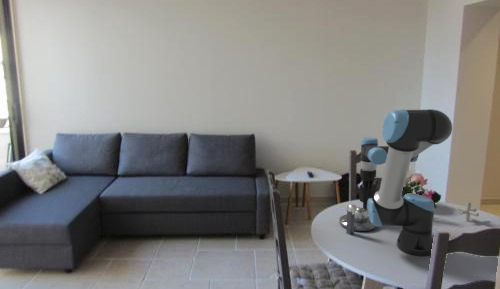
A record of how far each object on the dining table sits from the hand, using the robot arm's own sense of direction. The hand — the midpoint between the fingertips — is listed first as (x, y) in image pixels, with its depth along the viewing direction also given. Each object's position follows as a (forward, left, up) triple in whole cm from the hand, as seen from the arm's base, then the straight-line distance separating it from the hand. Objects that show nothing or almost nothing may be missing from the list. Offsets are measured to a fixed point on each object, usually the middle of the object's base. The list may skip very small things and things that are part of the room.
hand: (366, 214), depth 192 cm
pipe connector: (-28, -42, -4) cm, 51 cm away
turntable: (0, +6, -4) cm, 7 cm away
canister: (+7, -35, -4) cm, 36 cm away
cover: (0, +5, -2) cm, 5 cm away
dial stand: (-5, +17, -4) cm, 18 cm away
